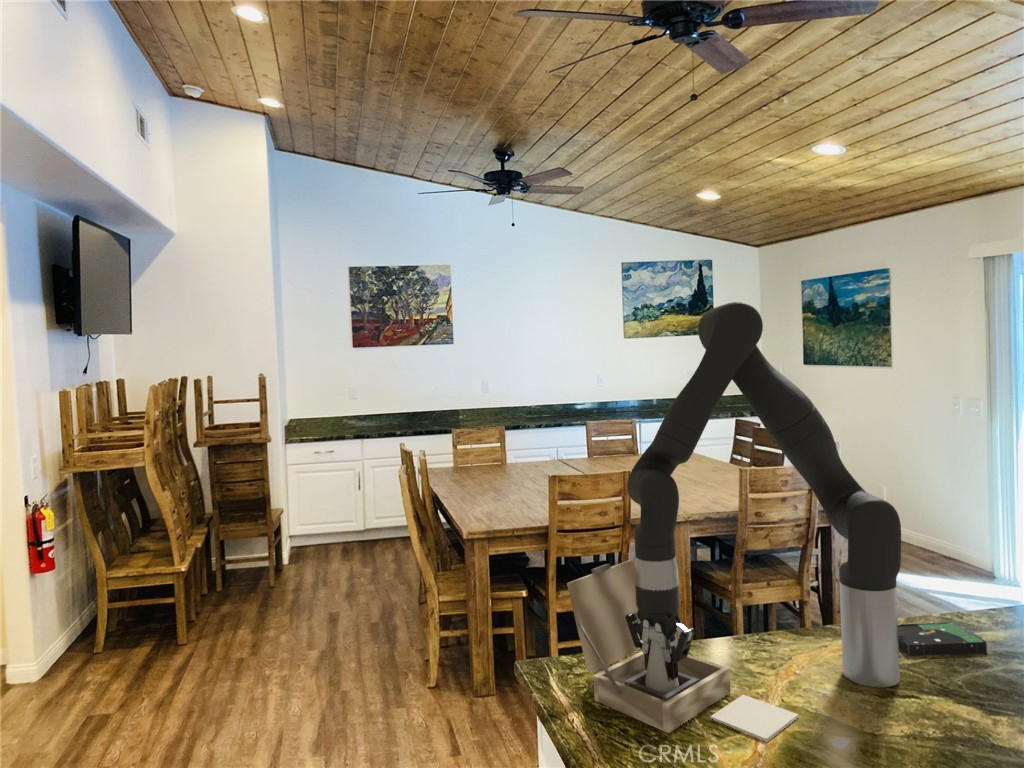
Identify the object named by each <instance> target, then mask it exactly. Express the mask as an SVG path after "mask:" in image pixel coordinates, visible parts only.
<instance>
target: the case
mask: <svg viewBox="0 0 1024 768" xmlns="http://www.w3.org/2000/svg"><path fill="white" fill-rule="evenodd" d="M577 625H578V626H579V628H580V630H581V632H582V633H583V635H584V637H585V638H586V640H587V642H588V643H589V645H590V647H591V649H592V650H593V652H594V654H595V655H596V657H597V659H598V661H599V662H600V664H601V666H602V667H603V668H602V669H603V670H601V671H599V672H598V673H596V674H593V679H592V680H593V692H594V693H593V694H594V695H593V696H594V701H595V702H598V703H599V704H602V705H604V706H607V707H609V708H611V709H613V710H615V711H618V712H620V713H622V714H624V715H627V716H629V717H631V718H633V719H635V720H638V721H640V722H641V723H644V724H647V725H649V726H652V727H653V728H656V729H658V730H660V731H663V732H665V733H667V734H670V733H671V732H673V731H675V730H677V729H678V728H680V727H681V726H682V725H684V724H686V723H687V722H688V720H689V721H691V720H692V719H693V718H695V717H696V716H698V715H699V714H701V713H703V712H704V711H705V710H704V709H706V708H707V707H708V706H709V705H711V704H713V703H714V702H716V701H717V700H719V699H721V698H722V697H724V696H725V695H727V694H728V693H730V692H731V691H732V690H731V672H730V667H726V666H725V665H724V666H723V665H720V664H718V663H715V662H712V661H708V660H706V659H703V658H700V657H696V656H695V655H691V654H688V656H687V657H686V658H684V659H682V660H680V661H678V677H677V678H678V682H679V687H677V688H676V689H674V690H672V691H670V692H669V693H667V694H664V693H662V692H659V691H657V690H654V689H652V688H649V687H647V686H646V684H645V680H646V673H647V670H646V669H645V658H644V653H643V652H642V650H641V651H640V652H639V651H638V652H637V653H636V654H633V655H631V656H629V657H627V658H626V659H623V660H621V661H619V662H617V663H615V664H613V665H611V666H609V667H608V666H605V664H604V662H603V660H602V659H601V657H600V655H599V654H598V652H597V650H596V649H595V647H594V645H593V644H592V642H591V640H590V638H589V637H588V635H587V633H586V632H585V630H584V628H583V627H582V625H581V623H580V622H578V624H577ZM577 625H576V626H577ZM731 693H732V692H731ZM731 693H730V694H731ZM727 696H728V695H727ZM724 698H725V697H724ZM722 699H723V698H722ZM722 699H721V700H722ZM719 701H720V700H719ZM716 703H717V702H716ZM713 705H714V704H713ZM707 709H708V708H707ZM707 709H706V710H707ZM703 710H704V711H703ZM700 712H701V713H700ZM698 713H699V714H698ZM697 714H698V715H697ZM694 716H695V717H694ZM691 718H692V719H691ZM685 722H686V723H685ZM683 723H684V724H683ZM680 725H681V726H680Z"/></svg>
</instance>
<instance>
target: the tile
mask: <svg viewBox="0 0 1024 768" xmlns="http://www.w3.org/2000/svg"><path fill="white" fill-rule="evenodd" d="M797 718H798V719H799V713H796V712H792V711H790V710H788V709H784V708H782V707H779V706H777V705H773V704H771V703H769V702H765V701H763V700H759V699H757V698H754V697H751V696H749V695H745V694H742V695H740V696H739V697H738V698H737V697H736V698H735V699H734V700H732V701H731V702H729V703H728V704H727V705H725V706H724V707H722V708H721V709H719V710H718V711H716V712H715V713H714V714H712V715H710V720H711V719H713V720H715V721H717V722H720V723H723V724H725V725H727V726H730V727H732V728H734V729H733V730H735V729H737V730H739V731H742V732H744V733H747V734H749V735H751V736H750V737H752V736H754V737H756V738H755V739H757V738H758V739H757V740H759V739H761V740H760V741H762V740H763V741H762V742H764V741H765V743H769V741H771V740H772V739H773V738H775V737H776V736H777V735H779V734H780V733H781V732H782V731H784V730H785V729H787V728H788V727H789V726H790V725H791V724H793V723H794V722H795V721H797V720H798V719H797ZM794 720H795V721H794ZM715 721H714V722H715ZM717 722H716V723H717ZM792 722H793V723H792ZM720 723H719V724H720ZM789 724H790V725H789ZM725 725H724V726H725ZM788 725H789V726H788ZM727 726H726V727H727ZM730 727H729V728H730ZM732 728H731V729H732ZM784 728H785V729H784ZM783 729H784V730H783ZM737 730H736V731H737ZM739 731H738V732H739ZM780 731H781V732H780ZM742 732H741V733H742ZM779 732H780V733H779ZM744 733H743V734H744ZM747 734H746V735H747ZM749 735H748V736H749ZM775 735H776V736H775ZM774 736H775V737H774ZM754 737H753V738H754ZM771 738H772V739H771ZM770 739H771V740H770Z"/></svg>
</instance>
